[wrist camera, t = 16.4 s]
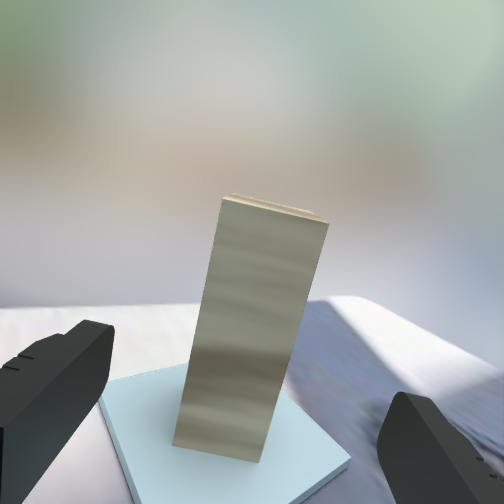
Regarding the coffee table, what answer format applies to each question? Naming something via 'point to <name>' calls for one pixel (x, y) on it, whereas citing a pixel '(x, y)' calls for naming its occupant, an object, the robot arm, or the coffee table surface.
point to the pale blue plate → (206, 464)
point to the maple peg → (247, 325)
